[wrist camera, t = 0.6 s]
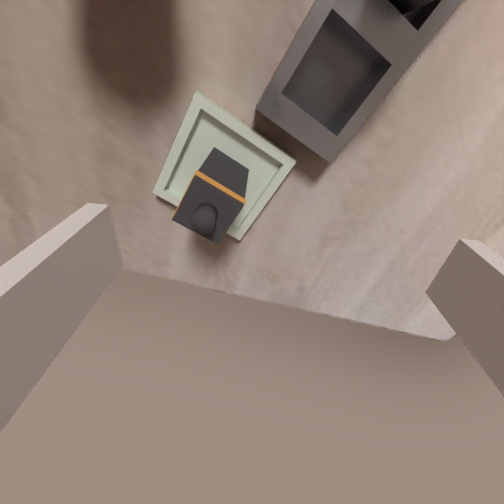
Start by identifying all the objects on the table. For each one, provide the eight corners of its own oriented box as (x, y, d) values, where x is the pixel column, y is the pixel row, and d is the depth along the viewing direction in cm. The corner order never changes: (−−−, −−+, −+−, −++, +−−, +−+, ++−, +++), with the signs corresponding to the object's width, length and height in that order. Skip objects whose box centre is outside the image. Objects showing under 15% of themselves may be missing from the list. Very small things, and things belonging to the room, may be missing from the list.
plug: (195, 181, 30) (163, 231, 21) (213, 145, 28) (187, 183, 18) (230, 201, 32) (215, 258, 22) (250, 169, 29) (243, 216, 20)
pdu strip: (256, 105, 26) (255, 109, 23) (426, -198, 16) (460, -256, 14) (324, 155, 29) (330, 164, 26) (506, -82, 19) (550, -111, 16)
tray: (156, 188, 32) (152, 192, 30) (199, 90, 26) (195, 91, 25) (240, 234, 35) (239, 240, 34) (295, 158, 29) (296, 161, 28)
